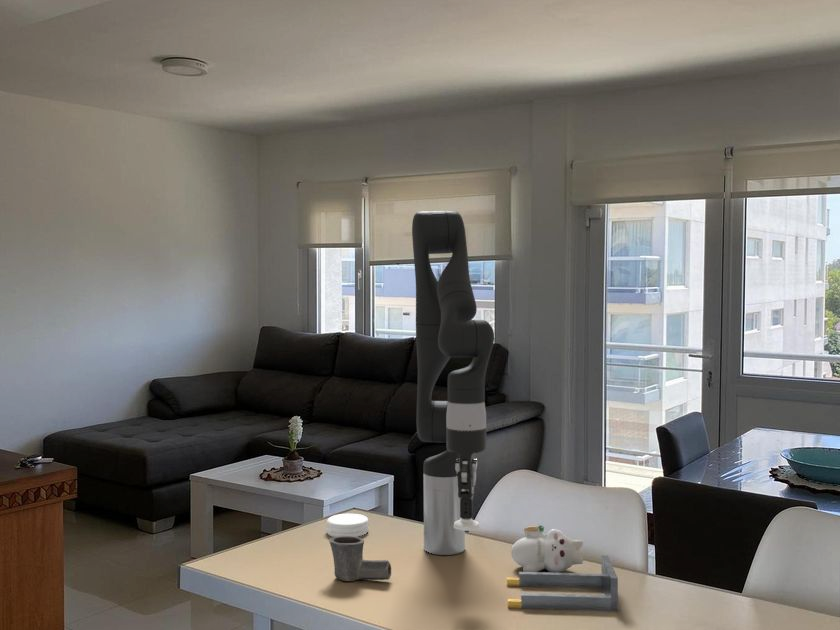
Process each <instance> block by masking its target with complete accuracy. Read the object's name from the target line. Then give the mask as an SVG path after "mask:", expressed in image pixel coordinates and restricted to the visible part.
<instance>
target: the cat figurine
mask: <svg viewBox="0 0 840 630" xmlns="http://www.w3.org/2000/svg"><path fill="white" fill-rule="evenodd" d="M544 530H545V527H544V525H541V524H540V525H529V526H526V527H524V528H523V531H524V533H523V537H522V538H519V539H518V540H517V541H515V542H514V544H512V547H511V550H510V555H511V557H512V559H513V561H514V562H515V563H516V564H517V565H518V566H520V567H523V568H522V572H541V571H542V570H547V572H549V573H562V572H563V571H564V572H565V571H566V570H568V569H570V568H571V567H572V566H573V565H574V566H575V565H582V564H584V558H583V557H582V556H581V555H580V554H579V553H578V552H579V550H580V549H581V548H582V547H583V546H584V545H583V544H584V542H583V540H581V539H572V538H571V537H569V536H568V535H565V534H564V532H562V530H560V529H556V528H552V529H550V530H548V532H547V533H544Z"/></svg>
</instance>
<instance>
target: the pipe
mask: <svg viewBox="0 0 840 630" xmlns="http://www.w3.org/2000/svg"><path fill="white" fill-rule="evenodd" d="M328 542H329V545H330V548H331V549H330V550H331V553H332V557H333V564H334V565H333V566H334V576H335V578H336V579H337V580H339V581H342V582H353V581H357V580H365V581H385V580H386V581H387V580H390V579H391V576H392V564H391V562H390V561H389V560H386V559H385V560H384V559H383V560H382V559H379V560H374V559H373V560H367V559H364V558H363V557H364V556H363V554H364V553H363V550H364V544H365V540H364V539H363V538H361V537H354V536H339V537H330V538H329V539H328Z"/></svg>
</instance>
